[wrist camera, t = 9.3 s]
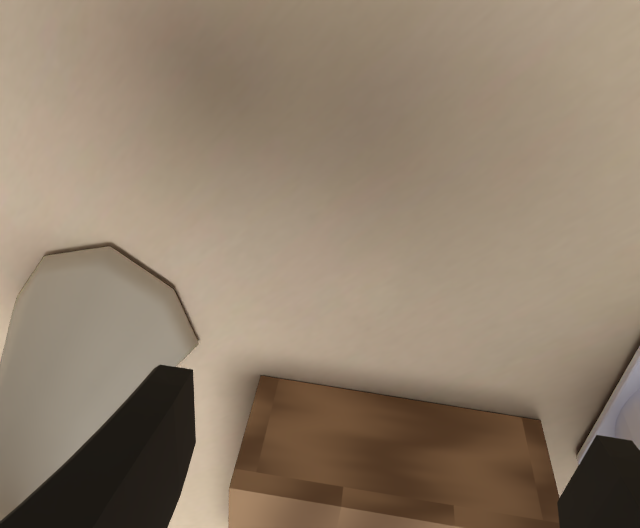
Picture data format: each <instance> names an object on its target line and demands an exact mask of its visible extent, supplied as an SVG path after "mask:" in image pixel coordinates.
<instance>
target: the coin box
mask: <svg viewBox="0 0 640 528" xmlns="http://www.w3.org/2000/svg"><path fill="white" fill-rule="evenodd" d="M558 500H559V494H558V490H557V486H556V482H555V478H554V474H553V469H552V465H551V461H550V457H549V453H548V449H547V445H546V440H545V436H544V432H543V428H542V424H541V420H535V419H528V418H522V417H516V416H510V415H503V414H497V413H491V412H485V411H479V410H472V409H466V408H460V407H454V406H447V405H441V404H435V403H429V402H423V401H416V400H410V399H404V398H398V397H391V396H385V395H379V394H373V393H366V392H360V391H354V390H348V389H342V388H335V387H329V386H323V385H317V384H310V383H304V382H298V381H292V380H286V379H279V378H273V377H267V376H261V377H260V380H259V384H258V387H257V391H256V394H255V398H254V401H253V405H252V409H251V412H250V416H249V419H248V423H247V426H246V430H245V433H244V437H243V441H242V444H241V448H240V451H239V455H238V458H237V462H236V465H235V469H234V473H233V476H232V480H231V483H230V487H229V528H560V525H559V516H558V506H557V502H558Z"/></svg>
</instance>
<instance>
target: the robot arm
mask: <svg viewBox="0 0 640 528" xmlns="http://www.w3.org/2000/svg"><path fill="white" fill-rule="evenodd" d="M195 443H196V437H195V411H194V385H193V370H191V369H185V368H179V367H172V366H166V365H158V366H157V367H155V368H154V369H153V370H152V371H151V372H150V374H149V375H148V376H147V377H146V378H145V379H144V381H143V382H142V383H141V384H140V385H139V386H138V387H137V388H136V390H135V391H134V392H133V393H132V394H131V395H130V396H129V397H128V398H127V400H126V401H125V402H124V403H123V404H122V405H121V406H120V407H119V408H118V409H117V410H116V411H115V412H114V414H113V415H112V416H111V417H110V418H109V419H108V420H107V421H106V422H105V423H104V424H103V425H102V426H101V427H100V428H99V429H98V430H97V431H96V432H95V433H94V434H93V435H92V436H91V437H90V438H89V439H88V440H87V441H86V442H85V443H84V444H83V445H82V446H81V447H80V448H79V449H78V450H77V451H76V452H75V453H74V454H73V455H72V456H71V457H70V458H69V459H68V460H67V461H66V462H65V463H64V464H63V465H62V466H61V467H60V468H59V469H58V470H57V471H56V472H54V473H53V474H52V475H51V476H50V477H49V478H48V479H47V480H46V481H45V482H44V483H42V484H41V485H40V486H39V487H38V488H37V489H36V490H35V491H34V492H33V493H32V494H30V495H29V496H28V497H27V498H26V499H25V500H24V501H23V502H22V503H21V504H19V505H18V506H17V507H16V508H15V509H14V510H13V511H11V512H10V513H9V514H8V515H7V516H6V517H4V518H3V519H2V520H1V521H0V528H167V527H168V525H169V522H170V520H171V517H172V515H173V512H174V510H175V507H176V505H177V502H178V500H179V497H180V495H181V491H182V488H183V485H184V481H185V478H186V475H187V471H188V468H189V464H190V461H191V457H192V454H193V450H194V447H195ZM577 461H578V465H579V466H578V468H577V469H576V471H575V473H574V474H573V476H572V478H571V480H570V481H569V483H568V485H567V486H566V488H565V490H564V492H563V493H562V495H561V497H560V498H559V500H558V502H557V506H558V516H559V525H560V528H640V346H639V348H638V350H637V351H636V353H635V355H634V357H633V358H632V360H631V362H630V364H629V365H628V367H627V369H626V371H625V372H624V374H623V376H622V378H621V379H620V381H619V383H618V385H617V386H616V388H615V390H614V392H613V393H612V395H611V397H610V399H609V400H608V402H607V404H606V406H605V407H604V409H603V411H602V413H601V414H600V416H599V418H598V420H597V421H596V423H595V425H594V427H593V429H592V430H591V432H590V434H589V436H588V437H587V439H586V441H585V443H584V444H583V446H582V448H581V450H580V451H579V453H578V455H577Z"/></svg>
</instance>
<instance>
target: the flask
mask: <svg viewBox="0 0 640 528" xmlns="http://www.w3.org/2000/svg"><path fill="white" fill-rule="evenodd" d="M198 344H199V343H198V341H197V339H196V336H195V334H194V332H193V330H192V328H191V326H190V323H189V321H188V319H187V317H186V315H185V313H184V310H183V308H182V306H181V304H180V302H179V300H178V297H177V295H176V293H175V291H174V289H173V288H171V287H170V286H168V285H167V284H165V283H164V282H162V281H161V280H159V279H158V278H156V277H155V276H153V275H152V274H150V273H149V272H147V271H146V270H144V269H143V268H141V267H140V266H138V265H137V264H136V263H134V262H133V261H131V260H130V259H128V258H127V257H125V256H124V255H122V254H121V253H119V252H118V251H116V250H115V249H113V248H112V247H110V246H107V247H101V248H94V249H87V250H80V251H74V252H67V253H60V254H53V255H47V256H44V257H43V259H42V260H41V262H40V263H39V265H38V266H37V268H36V269H35V271H34V272H33V274H32V275H31V277H30V278H29V280H28V281H27V283H26V284H25V286H24V287H23V289H22V290H21V292H20V293H19V295H18V296H17V298H16V302H15V305H14V309H13V312H12V316H11V320H10V324H9V328H8V333H7V337H6V341H5V345H4V349H3V353H2V358H1V362H0V521H1V520H2V519H3V518H4V517H6V516H7V515H8V514H9V513H10V512H11V511H13V510H14V509H15V508H16V507H17V506H18V505H19V504H21V503H22V502H23V501H24V500H25V499H26V498H27V497H28V496H29V495H30V494H32V493H33V492H34V491H35V490H36V489H37V488H38V487H39V486H40V485H41V484H42V483H44V482H45V481H46V480H47V479H48V478H49V477H50V476H51V475H52V474H53V473H54V472H56V471H57V470H58V469H59V468H60V467H61V466H62V465H63V464H64V463H65V462H66V461H67V460H68V459H69V458H70V457H71V456H72V455H73V454H74V453H75V452H76V451H77V450H78V449H79V448H80V447H81V446H82V445H83V444H84V443H85V442H86V441H87V440H88V439H89V438H90V437H91V436H92V435H93V434H94V433H95V432H96V431H97V430H98V429H99V428H100V427H101V426H102V425H103V424H104V423H105V422H106V421H107V420H108V419H109V418H110V417H111V416H112V415H113V414H114V412H115V411H116V410H117V409H118V408H119V407H120V406H121V405H122V404H123V403H124V402H125V401H126V400H127V398H128V397H129V396H130V395H131V394H132V393H133V392H134V391H135V390H136V388H137V387H138V386H139V385H140V384H141V383H142V382H143V381H144V379H145V378H146V377H147V376H148V375H149V374H150V372H151V371H152V370H153V369H154V368H155V367H157V366H158V365H166V366H172V367H176V366H177V365H178V364H179V363H180V362H181V361H182V360H183V359H184V358H185V357H186V356H187V355H188V354H189V353H190V352H191V351H192V350H193V349H194V348H195V347H196V346H197V345H198Z"/></svg>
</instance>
